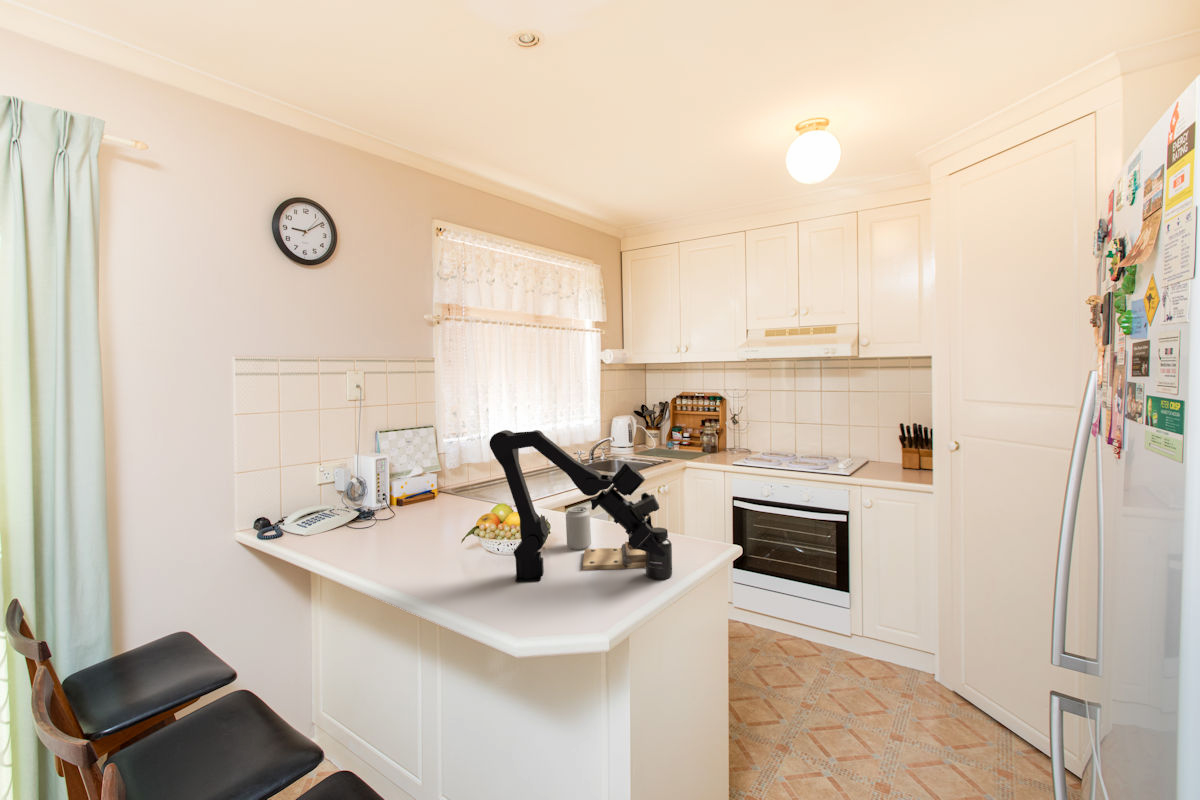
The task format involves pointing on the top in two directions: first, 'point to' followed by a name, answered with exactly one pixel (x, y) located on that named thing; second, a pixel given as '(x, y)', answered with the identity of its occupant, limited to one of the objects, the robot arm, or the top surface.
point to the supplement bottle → (660, 557)
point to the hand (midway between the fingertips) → (663, 549)
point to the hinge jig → (614, 558)
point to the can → (578, 528)
